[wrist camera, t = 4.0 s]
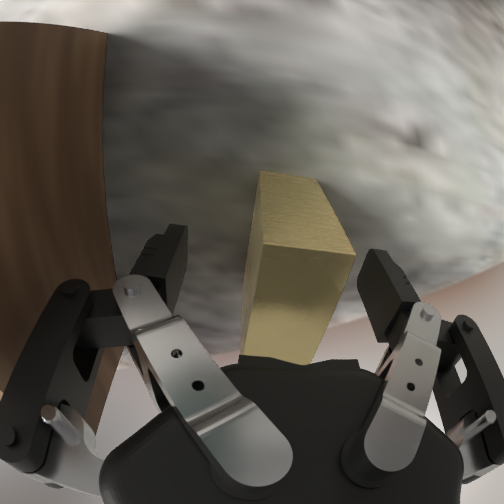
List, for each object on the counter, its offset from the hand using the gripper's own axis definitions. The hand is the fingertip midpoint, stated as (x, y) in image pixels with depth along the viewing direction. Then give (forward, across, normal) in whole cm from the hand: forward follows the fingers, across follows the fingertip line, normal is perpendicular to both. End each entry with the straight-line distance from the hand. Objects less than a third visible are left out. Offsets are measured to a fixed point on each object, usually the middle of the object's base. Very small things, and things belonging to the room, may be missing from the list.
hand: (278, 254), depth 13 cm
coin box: (+2, +16, 0) cm, 16 cm away
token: (+2, 0, 0) cm, 2 cm away
